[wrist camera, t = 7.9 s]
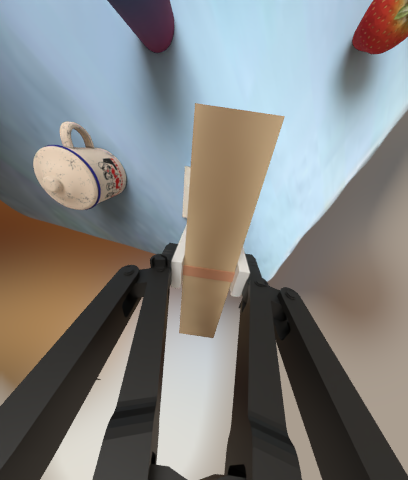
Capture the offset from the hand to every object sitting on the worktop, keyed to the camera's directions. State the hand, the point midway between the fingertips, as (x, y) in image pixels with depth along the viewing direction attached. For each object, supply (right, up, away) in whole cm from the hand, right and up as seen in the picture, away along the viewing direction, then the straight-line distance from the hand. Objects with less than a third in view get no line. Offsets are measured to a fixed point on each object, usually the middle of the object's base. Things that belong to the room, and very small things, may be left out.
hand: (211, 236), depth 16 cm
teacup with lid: (-20, +14, +12) cm, 28 cm away
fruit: (+19, +25, +2) cm, 31 cm away
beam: (0, 0, 0) cm, 0 cm away
